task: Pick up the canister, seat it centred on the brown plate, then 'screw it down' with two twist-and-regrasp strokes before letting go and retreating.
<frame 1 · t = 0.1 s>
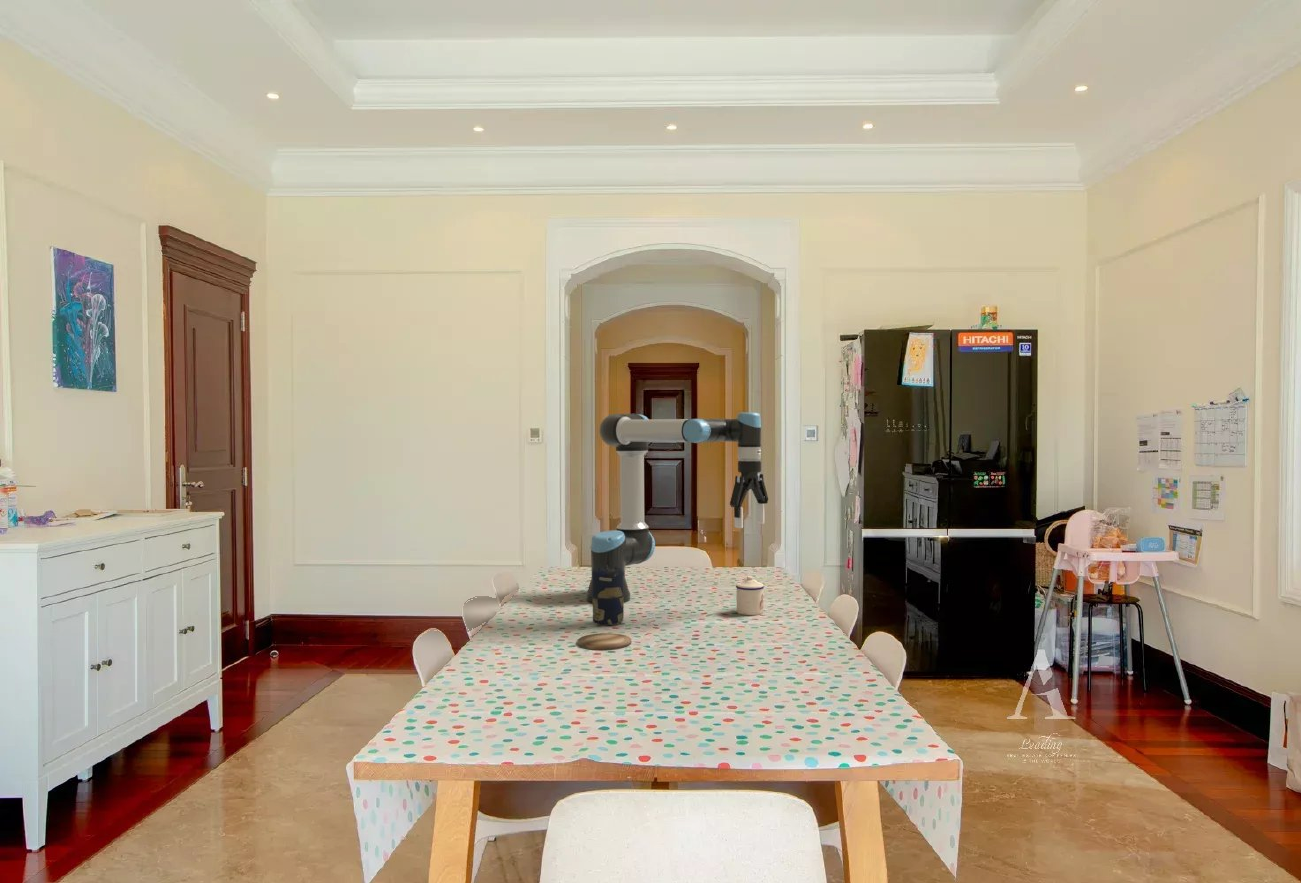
hand: (749, 525, 272), 28 cm above the table, fingers open, 13 cm apart
brown plate: (604, 642, 235), on the table
teacup with lid: (749, 612, 272), on the table
canister: (608, 624, 258), on the table
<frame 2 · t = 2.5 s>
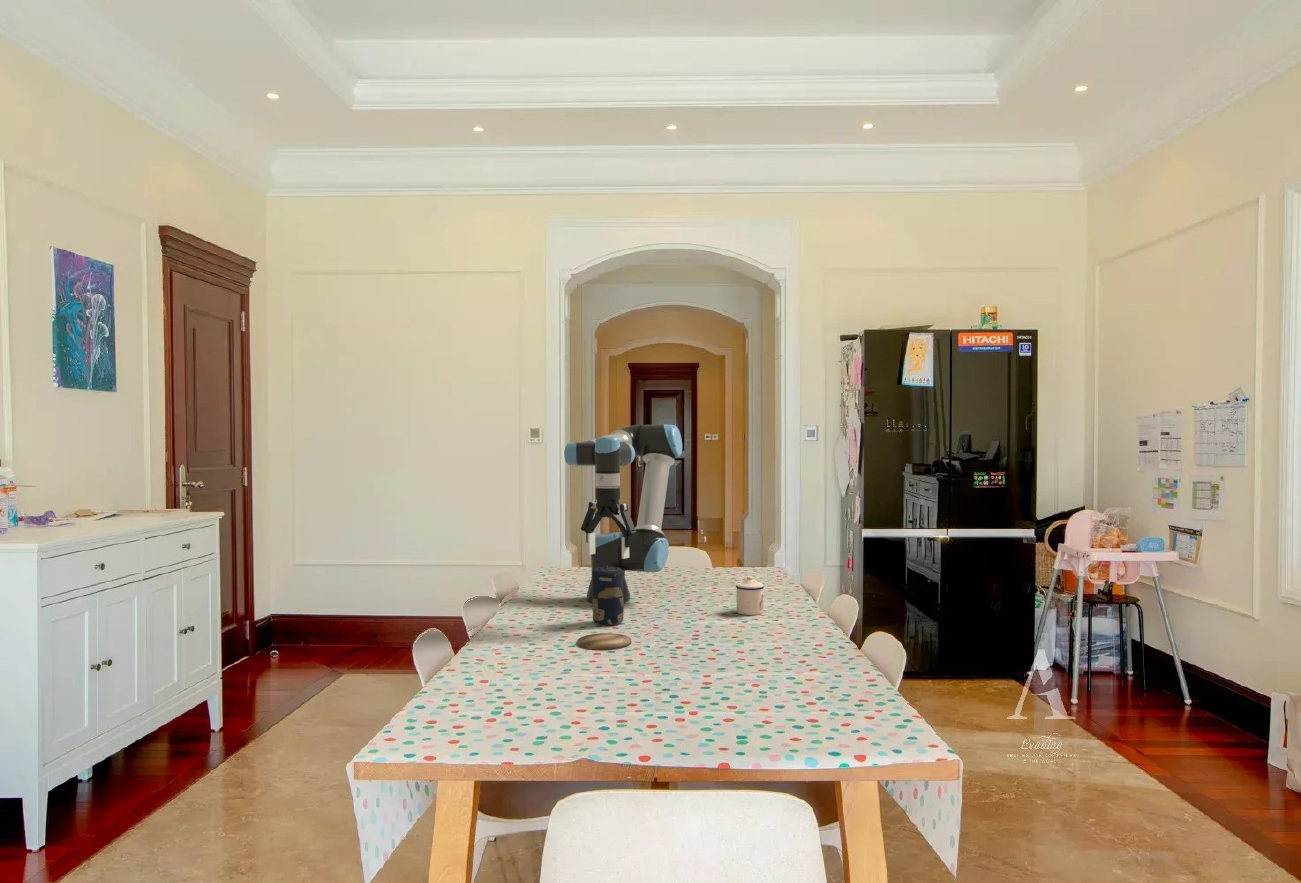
hand: (608, 556, 257), 21 cm above the table, fingers open, 13 cm apart
nothing on the table moved.
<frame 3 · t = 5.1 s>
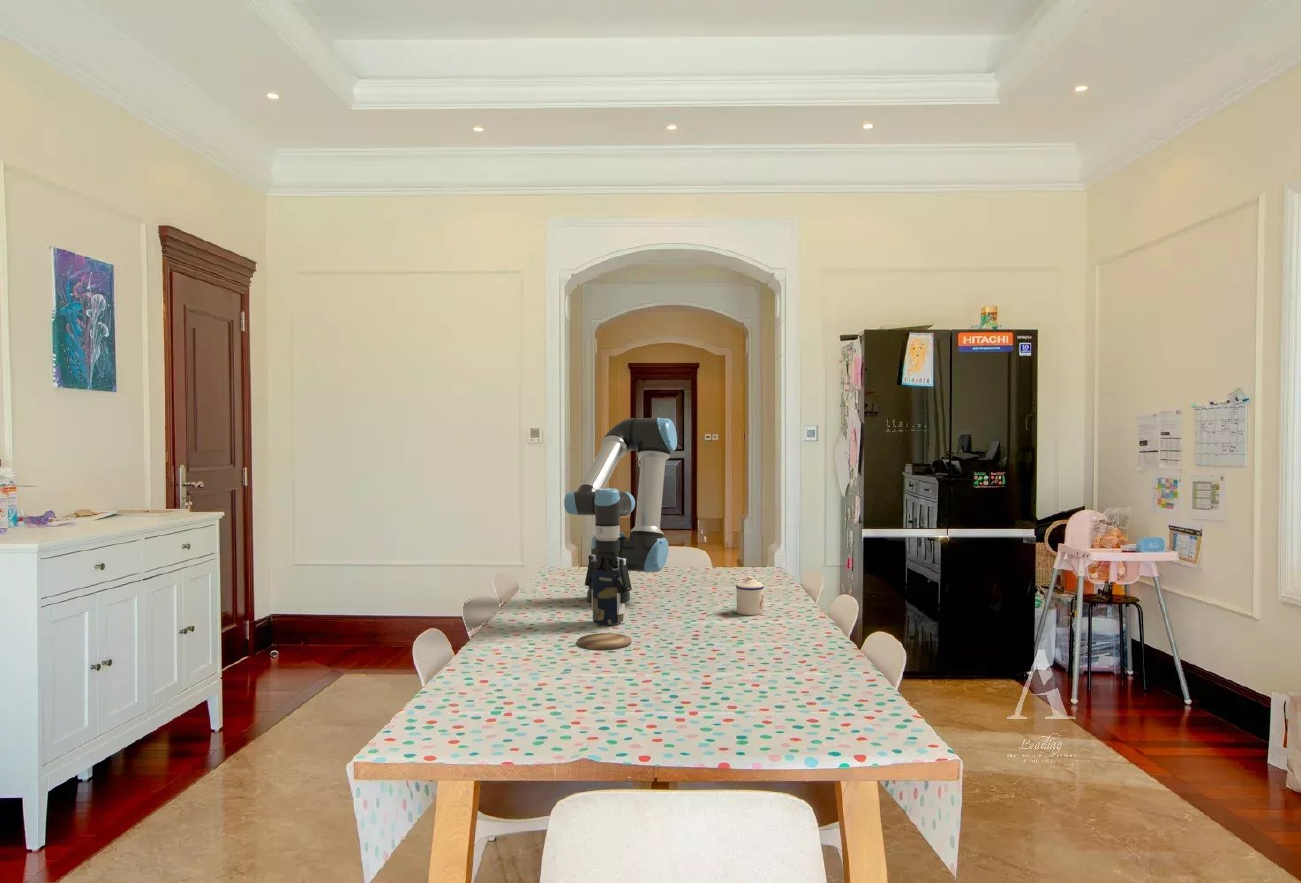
hand: (608, 611, 258), 4 cm above the table, fingers closed on canister, 9 cm apart
canister: (608, 623, 258), on the table, touching gripper
everything else where it was.
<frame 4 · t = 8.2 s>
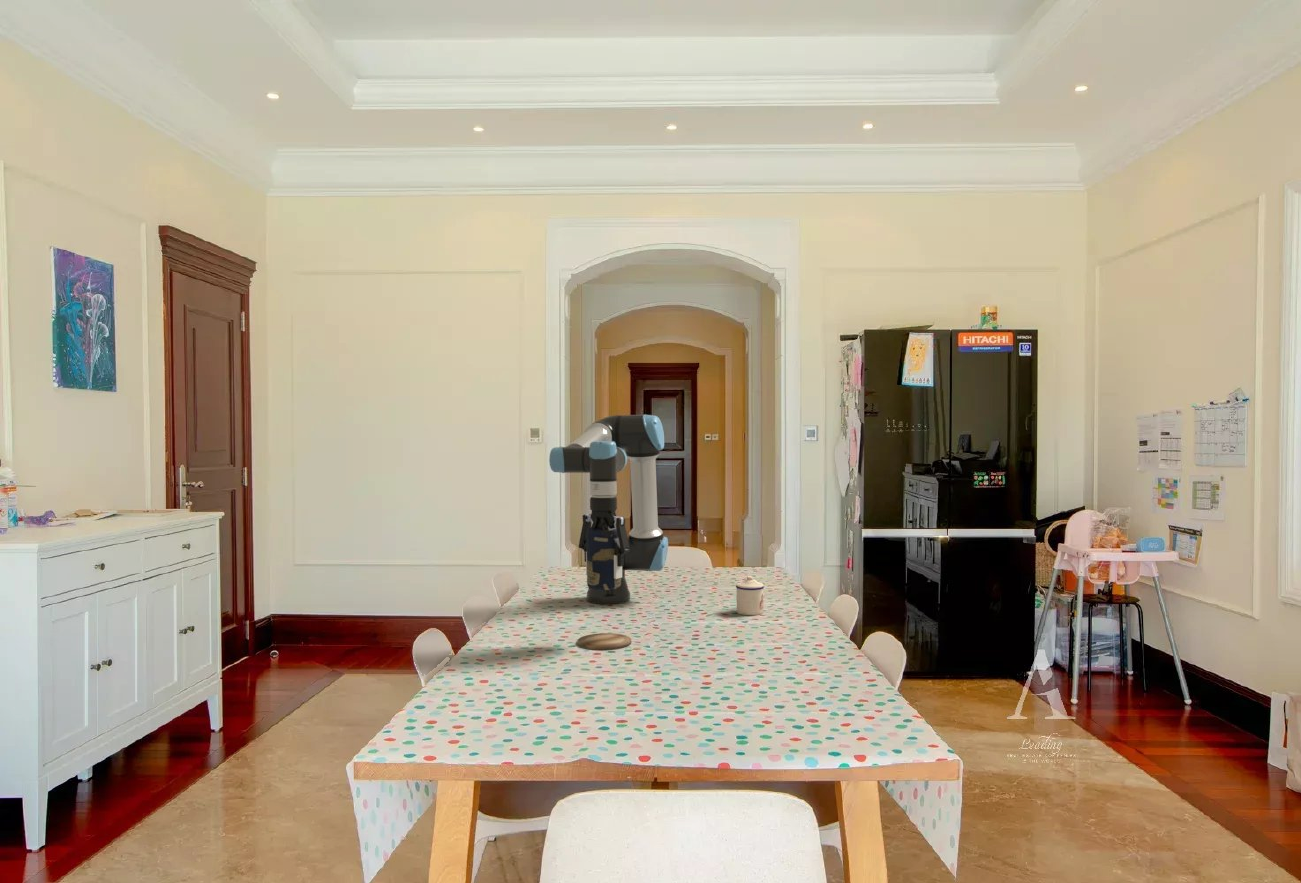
hand: (604, 576, 234), 19 cm above the table, fingers closed on canister, 9 cm apart
canister: (604, 589, 235), point 15 cm above the table, touching gripper
everything else where it was.
when the fingers open (5 cm above the table, at t = 11.6 s): canister stays where it is, resting on brown plate.
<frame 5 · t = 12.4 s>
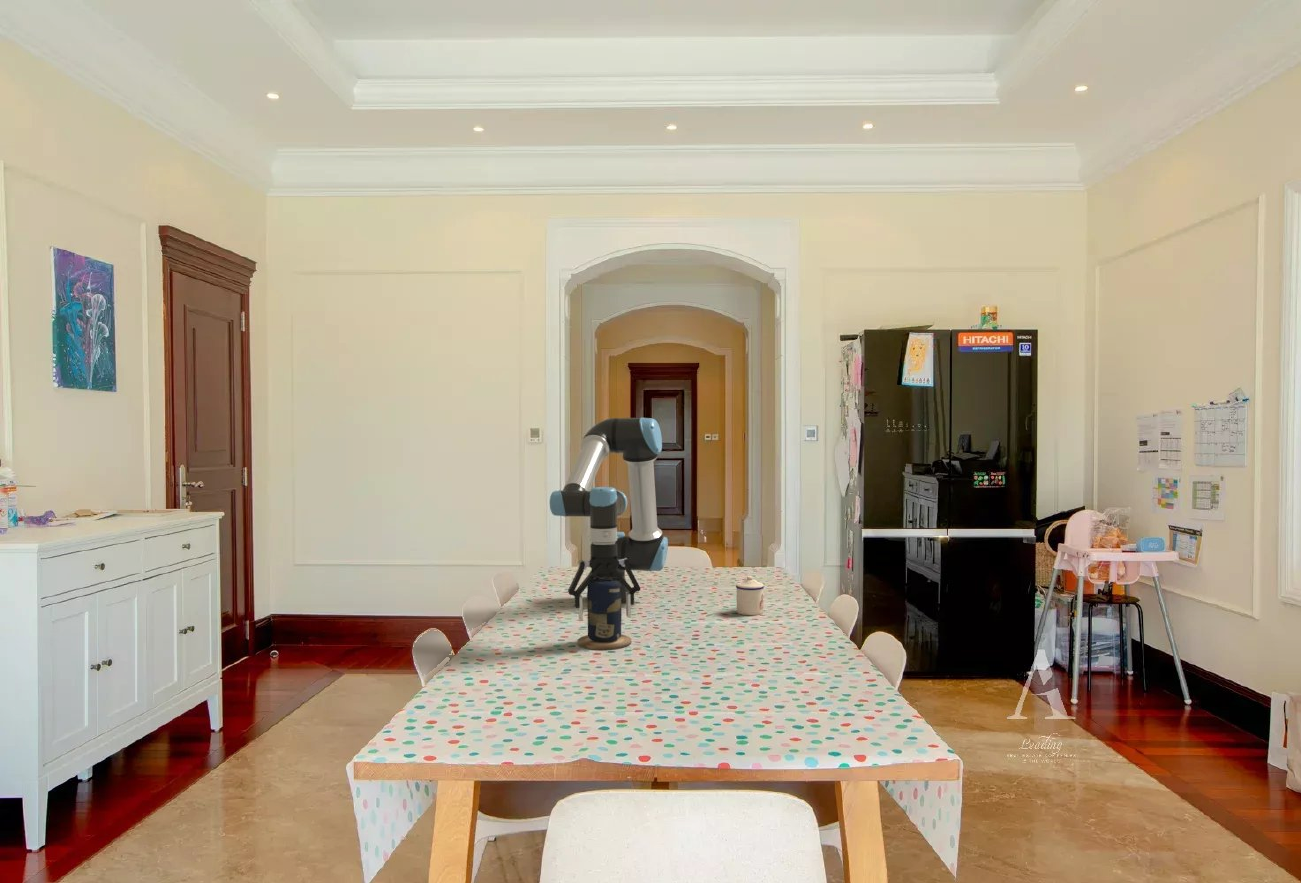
hand: (604, 617, 235), 7 cm above the table, fingers open, 13 cm apart
canister: (604, 640, 235), point 1 cm above the table, touching brown plate
everything else where it was.
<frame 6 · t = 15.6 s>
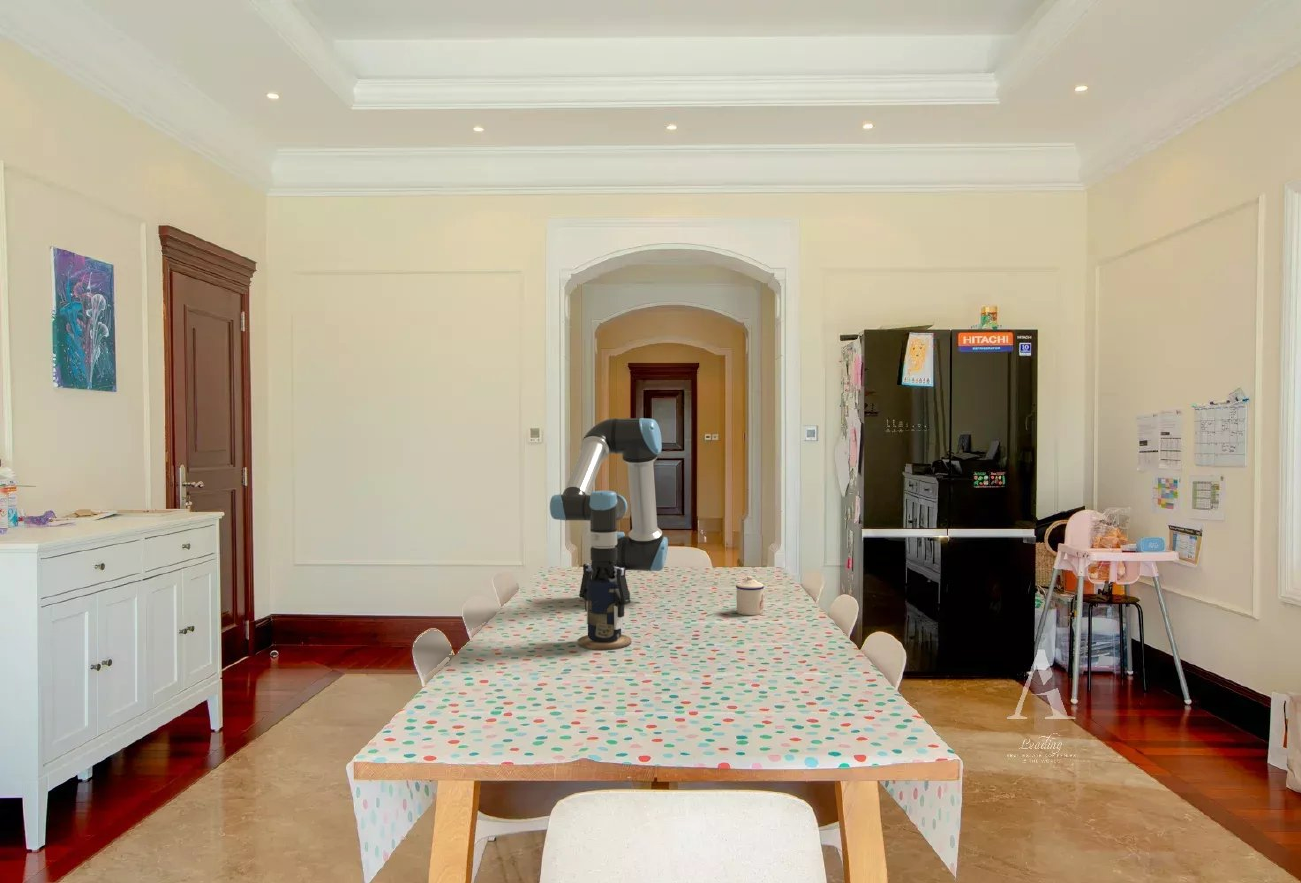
hand: (604, 625, 235), 5 cm above the table, fingers closed on canister, 9 cm apart
canister: (604, 640, 235), point 1 cm above the table, touching gripper, brown plate
everything else where it was.
when the fingers open (5 cm above the table, at t = 16.9 s): canister stays where it is, resting on brown plate.
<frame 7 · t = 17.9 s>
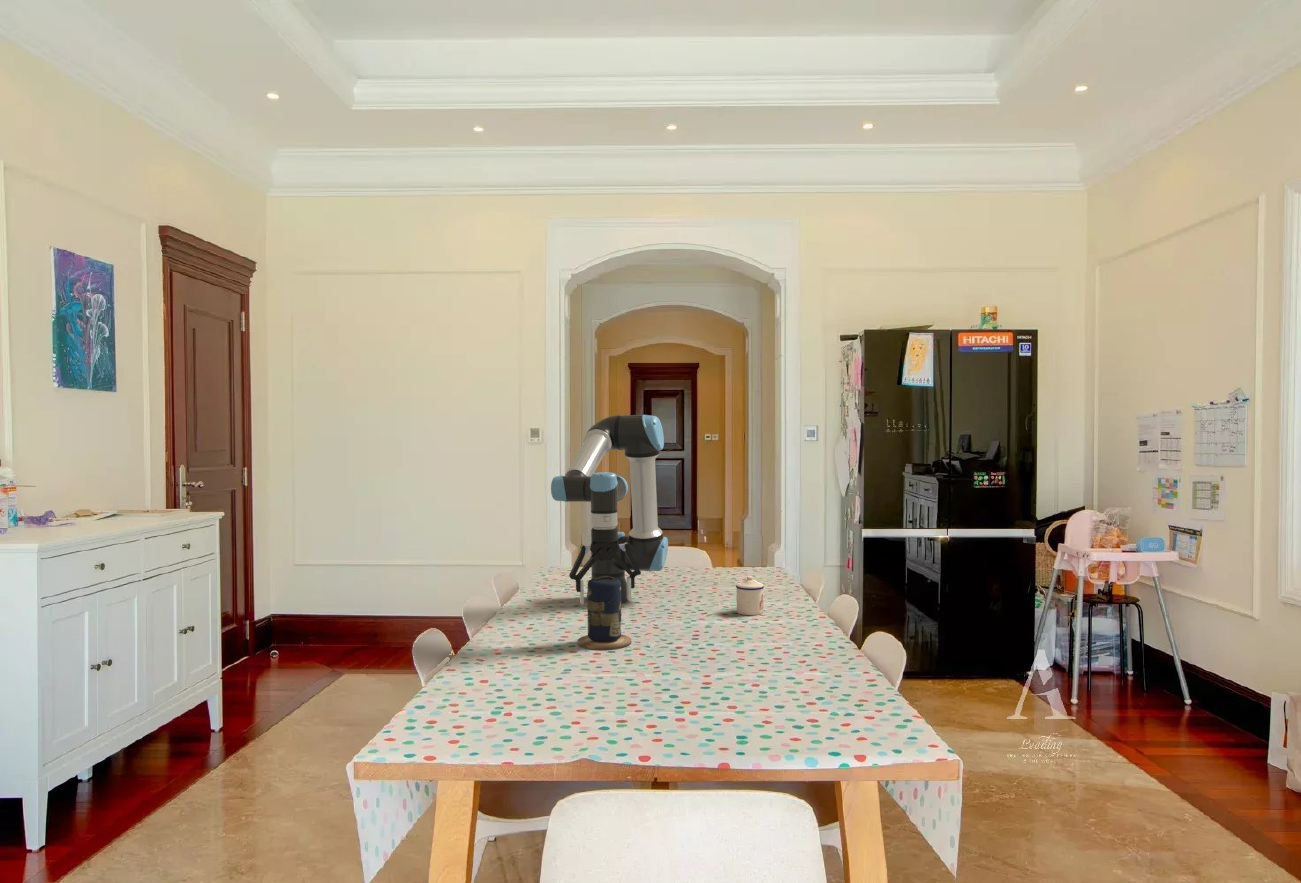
hand: (605, 601, 238), 11 cm above the table, fingers open, 13 cm apart
canister: (604, 640, 235), point 1 cm above the table, touching brown plate
everything else where it was.
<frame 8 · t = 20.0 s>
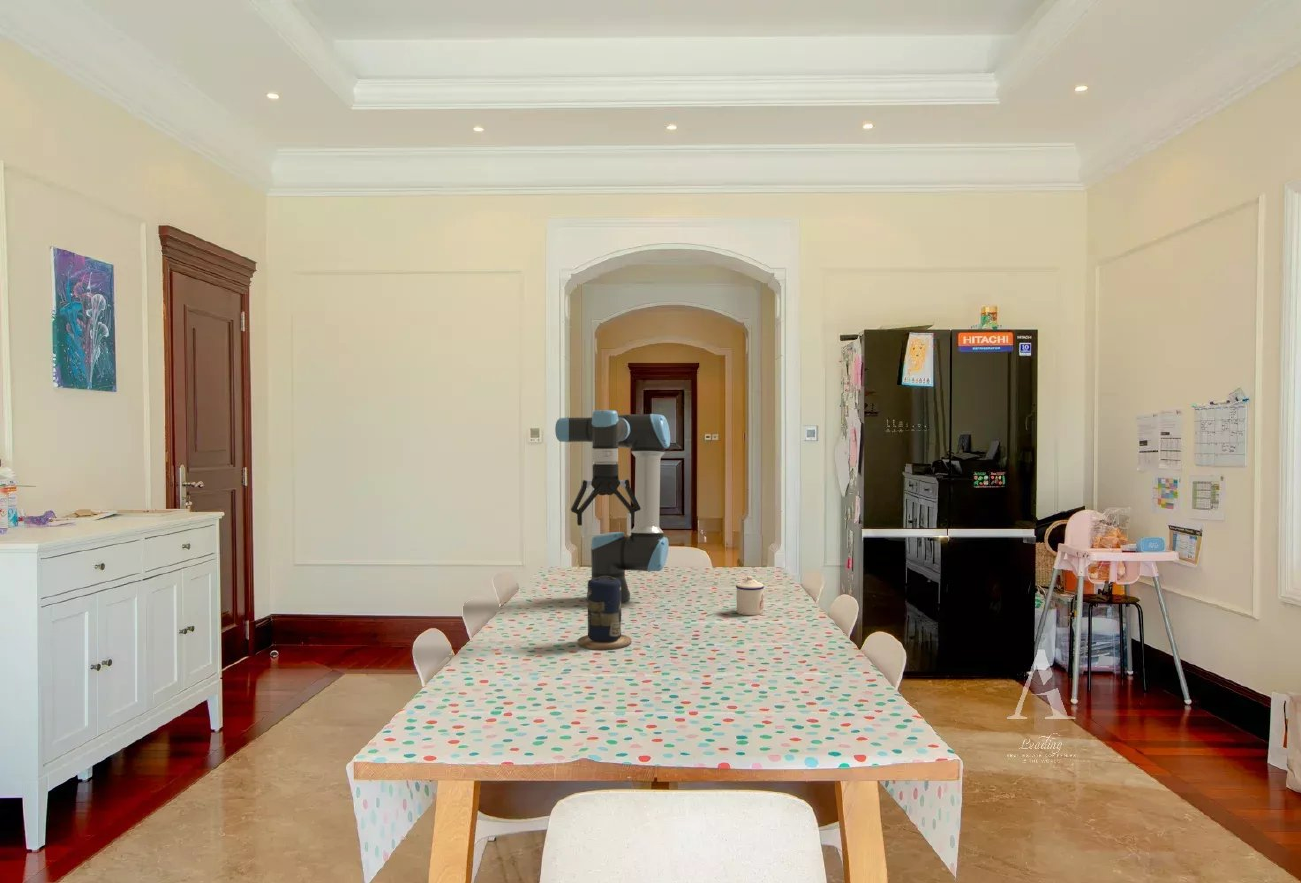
hand: (606, 536, 244), 29 cm above the table, fingers open, 13 cm apart
nothing on the table moved.
at the end: canister 0.1 cm from the brown plate (horizontally); canister tilted 0°; the gripper is holding nothing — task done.
